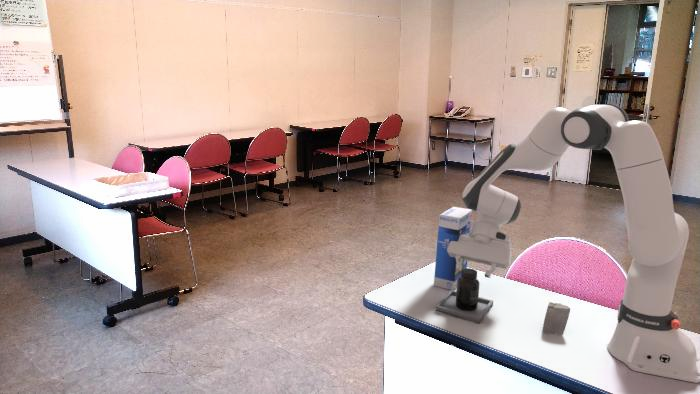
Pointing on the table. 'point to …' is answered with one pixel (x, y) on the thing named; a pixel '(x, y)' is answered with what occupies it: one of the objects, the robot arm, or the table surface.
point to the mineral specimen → (556, 319)
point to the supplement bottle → (467, 290)
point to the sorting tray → (450, 308)
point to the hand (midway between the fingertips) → (472, 273)
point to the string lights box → (448, 230)
